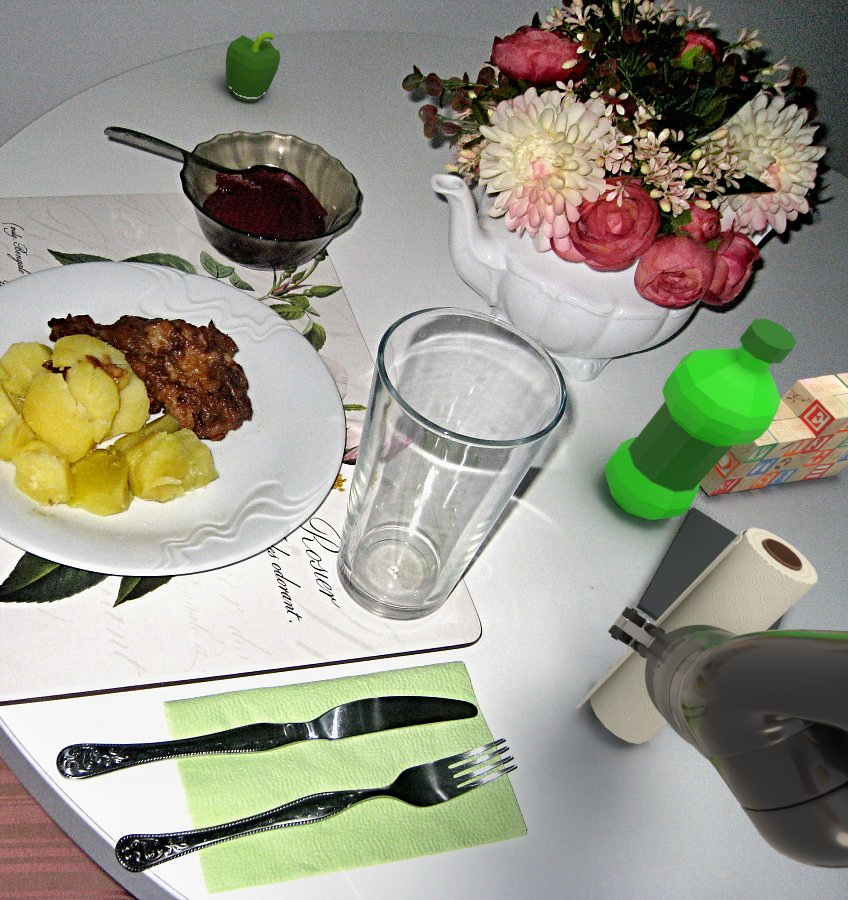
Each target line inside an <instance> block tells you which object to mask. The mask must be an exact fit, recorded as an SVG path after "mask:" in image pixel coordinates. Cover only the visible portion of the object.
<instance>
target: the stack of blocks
mask: <svg viewBox="0 0 848 900" xmlns="http://www.w3.org/2000/svg"><path fill="white" fill-rule="evenodd" d="M780 400H781V402H780V405H779V408H778V411H777V413H776V415H775V417H774V419H773V421H772V423H771V425H770V427H769V428H768V429H767V430H766V432H765V433H764V434H763V435H762V436H761V437H760V438H758V439H756V440H755V441H753V442H752V443H750V444H743V445H733V446H732V448H731V449H730V450H729V451H728V452H727V453H726V454H725V455H724V456H723V457H722V458H721V460H720V461H719V462H718V463H717V464H716V465H715V466H714V467H713V468H712V469H711V470H710V472H709V473H708V474H707V475H706V476H705V477H704V478H703V479H702V480H701V483H700V487H701V488H702V489H703V491H704V492H705V493H706V494H707V495H708V496H710V497H711V496H715V495H716V496H717V495H720V494H721V495H722V494H725V493H730V494H731V493H736V492H742V491H746V490H754V489H760V488H765V487H770V486H776V485H782V484H786V483H793V482H798V481H809V480H815V479H819V478H827V477H834V476H837V475H839V473H841V472H842V471H843V469H845V468H846V467H847V466H848V372H842V373H837V374H828V375H827V374H826V375H821V376H816V377H808V378H803V379H797V381H795V383H794V384H792V386H791V387H790V388H789V389H788V390H787V391H786V392H785V393H784V394H783V395H782V396H781V397H780Z"/></svg>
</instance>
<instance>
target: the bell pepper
mask: <svg viewBox="0 0 848 900" xmlns="http://www.w3.org/2000/svg"><path fill="white" fill-rule="evenodd" d="M274 39H275V34H274V33H272V32H262V33H261V34H259V35H258V36H257V37H256V38H255V40H252V39H251V38H249V37H248V36H246V35H243V34H242V35H241V36H239V37H238V38H236V39H235V40H232V41H231V43H229V45H228V47H227V49H226V55H225V80H226V81H225V82H226V85H228V86H230V87H232V89H230V88H228V91H229V92H231V93H233V95H234V97H236V98H237V100H240V101H244V102H249V103H255V102H257V101H259V100H260V99H261V98H262V97H264V96H265V95H263V93H264V92H266V93H268V91H269V89H270V87H271V85H272V83H273V81H274V79H275V76H276V74H277V72H278V69H279V65H280V62H281V54H280V50H279V49H276V48H275V47H274V45H273V43H272V42H271V41H273V40H274ZM228 86H227V87H228ZM267 90H268V91H267ZM233 91H234V92H235V93H237V94H238V95H242V96H246V97H259V96H261V95H262V96H261V97H260V98H257V99H246V98H243V97H240V96H238V95H236V94H235V93H234V92H233Z"/></svg>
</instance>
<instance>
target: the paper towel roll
mask: <svg viewBox="0 0 848 900" xmlns="http://www.w3.org/2000/svg"><path fill="white" fill-rule="evenodd" d="M737 535H738V536H737V537H736V538H735V539H734V540H733V541H732V542H731V543H730V544H729V545H728V546H727V547H726V548H725V549H724V550H723V551H722V552H721V553H720V555H719V556H718V557H717V558H716V559H715V560H714V561H713V562H712V563H711V564H710V565H709V566H708V567H707V568H706V569H705V570H704V571H703V572H702V573H701V574H700V575H699V576H698V578H697V579H696V580H695V581H694V582H693V583H692V584H691V585H690V586H689V587H688V588H687V589H686V590H685V591H684V592H683V593H682V594H681V595H680V596H679V597H678V598H677V600H676V601H675V602H674V603H673V604H672V605H671V606H670V607H669V608H668V609H667V610H666V611H665V612H664V613H663V614H662V615H661V616H660V617H659V618H658V619H657V620H656V619H655V621H654V623H652V624H653V625H654V626H656V627H657V628H659V627H660V628H662V629H663V630H665V632H664V633H666V634H667V633H669V632H671V631H673V630H675V629H678V628H681V627H685V626H689V625H710V626H715V627H719V628H722V629H724V630H727V631H729V632H731V633H734V634H736V635H738V636H739V635H743V634H747V633H752V632H758V631H766V630H767V629H768V628H769V627H770V626H771V625H772V624H773V623H775V622H776V621H777V620H778V619H779V618H780V617H781V616H782V615H783V616H784V614H785V613H786V612H787V611H789V610H790V609H791V608H792V607H793V606H794V605H795V604H796V603H797V602H799V600H800V599H802V597H804V596H805V595H806V594H807V593H808V592H809V591H810V590H812V588H813V587H814V586H815V585H817V583H818V578H819V576H818V574H817V571H816V569H815V567H814V566H813V564H811V562H810V561H809V560H808V559H807V558H806V556H805V555H803V554H802V553H801V552H800V551H799V550H798V549H797V548H795V546H793V545H792V544H790V543H789V542H788V541H786V540H784V539H783V538H781V537H780V536H779V535H776V534H775V533H772V532H770V531H768V530H766V529H762V528H759V527H757V526H753V527H750V528H746V529H744V530H741V531H740V532H739V534H737ZM639 654H640V653H638V652H637V651H635V650H634V649H632V648H630V647H629V648H628V650H627V651H625V652H624V654H623V655H622V656H621V657H620V658H619V659H618V660H617V661H616V662H615V663H614V664H613V666H611V667H610V669H608V671H607V672H606V673H605V674H604V675H603V676H602V677H601V678H600V679H599V680H598V681H597V682H596V683H595V684H594V685H593V686H592V687H591V688H590V689H589V690H588V692H586V694H585V696H584V697H583V699H581V700H580V701H579V703H577V705H575V707H574V708H573V709H574V710H576V709H577V710H578V709H580V708H581V707H582V706H583V705H584V704H585V703H586V702H587V701H588V700H589V699H590V706H591V707H592V710H593V712H594V714H595V716H596V717H597V719H598V720H599V721H600V723H602V725H603V726H604V727H605V728H606V729H607V730H609V732H611V733H612V734H613V735H614V736H615V737H618V738H619V739H621V740H623V741H625V742H627V743H630V744H637V745H640V744H642V743H646V742H648V741H650V740H651V739H652V738H653V737H655V735H656V734H657V733H658V732H660V730H661V729H663V728H664V727H665V726H666V725H667V724H669V723H668V722H667V721H666V720H665V719H664V717H663V716H662V715H661V714H660V713H659V711H658V710H657V709H656V707H655V706H654V704H653V703H652V701H651V699H650V697H649V694H648V691H647V688H646V683H645V666H646V660H647V658H645V659H644V658H643V657H641V656H640V655H639Z"/></svg>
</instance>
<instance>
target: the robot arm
mask: <svg viewBox="0 0 848 900" xmlns="http://www.w3.org/2000/svg"><path fill="white" fill-rule="evenodd" d="M653 624H654V623H652V622H650V621H649V620H647V618H644V617H643V616H642V615H641V614H639V611H638V610H637V609H635V608H634V607H631V608H630V607H629V606H625V608H624V609H623V610H622V612H621V613H620V614H619V616H618V617H617V619H616V620H615V621H614V623H613V624H612V625H611V626H610V628H609V629H608V630H607V633H608V634H609V635H610V637H611V638H612V639H613V640H615V641H618V640H619V641H620V642H621V643H622V644H624V645H626V646H627V647H629V649H630V648H632V649H634V650H635V651H637V652H638V653H640V654H639V655H640V656H641V657H643V658H644V659H645V658H647V660H646V666H645V683H646V688H647V691H648V694H649V697H650V699H651V701H652V703H653V704H654V706H655V707H656V709H657V710H658V711H659V713H660V714H661V715H662V716H663V717H664V719H665V720H666V721H667V722H668V723H667V724H668V725H669V726H670V727H671V728H672V730H673V731H674V732H675V733H676V734H677V735H679V737H680V738H681V739H682V740H684V741H685V742H686V743H688V744H689V745H691V746H692V747H694V749H695V750H696V751H697V752H698V753H699V754H700V755H701V756H702V757H703V758H704V759H706V760H707V761H708V762H709V763H710V764H711V765H712V766H713V767H714V769H715V771H717V773H718V774H719V776H720V778H721V779H722V780H723V782H724V783H725V785H726V787H727V788H728V789H729V791H730V792H731V794H732V795H733V796H734V798H735V799H736V801H737V802H738V804H739V805H740V808H741V809H742V810H743V812H744V813H745V816H747V818H748V820H750V822H751V824H752V825H753V827H754V828H755V829H756V831H757V832H758V834H759V835H760V837H761V838H762V839H763V840H764V842H766V844H767V845H769V847H771V848H772V849H774V850H775V851H776V852H777V853H779V854H781V855H782V856H784V857H786V858H788V859H789V860H791V861H794V862H797V863H800V864H802V865H805V866H809V867H813V868H819V869H827V870H847V869H848V630H830V629H829V630H828V629H809V628H807V629H806V628H788V629H787V628H786V629H778V630H767V631H758V632H752V633H747V634H743V635H739V636H738V635H736V634H734V633H731V632H729V631H727V630H724V629H722V628H719V627H715V626H710V625H689V626H685V627H681V628H678V629H675V630H673V631H671V632H669V633H667V634H666V633H664V632H665V630H663V629H662V628H660V627H659V628H657V627H656V626H654V625H653Z"/></svg>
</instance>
